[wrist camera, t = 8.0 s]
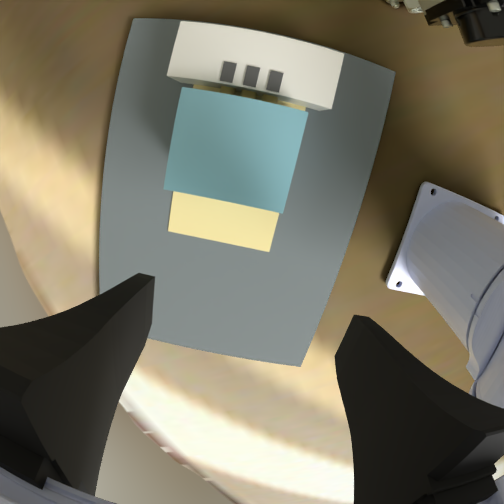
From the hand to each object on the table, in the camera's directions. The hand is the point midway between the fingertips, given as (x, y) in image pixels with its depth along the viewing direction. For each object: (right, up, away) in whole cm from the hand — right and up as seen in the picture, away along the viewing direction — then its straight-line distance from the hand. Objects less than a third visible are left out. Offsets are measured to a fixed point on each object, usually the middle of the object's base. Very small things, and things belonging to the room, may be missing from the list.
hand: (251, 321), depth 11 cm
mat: (-2, +5, +9) cm, 10 cm away
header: (0, +11, +5) cm, 12 cm away
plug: (-1, +8, +6) cm, 11 cm away
